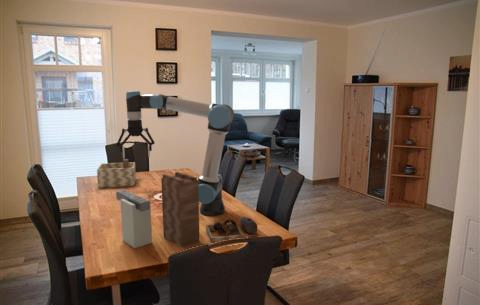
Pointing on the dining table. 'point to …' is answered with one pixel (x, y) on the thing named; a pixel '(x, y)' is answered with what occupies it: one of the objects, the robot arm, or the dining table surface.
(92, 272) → the dining table surface
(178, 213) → the walnut stand
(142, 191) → the dining table surface
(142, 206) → the bar
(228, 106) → the robot arm
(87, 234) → the dining table surface
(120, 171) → the zigzag patterned box
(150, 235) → the slotted cradle
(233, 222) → the pottery mug
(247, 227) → the perforated stone tool
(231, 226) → the coaster tray
